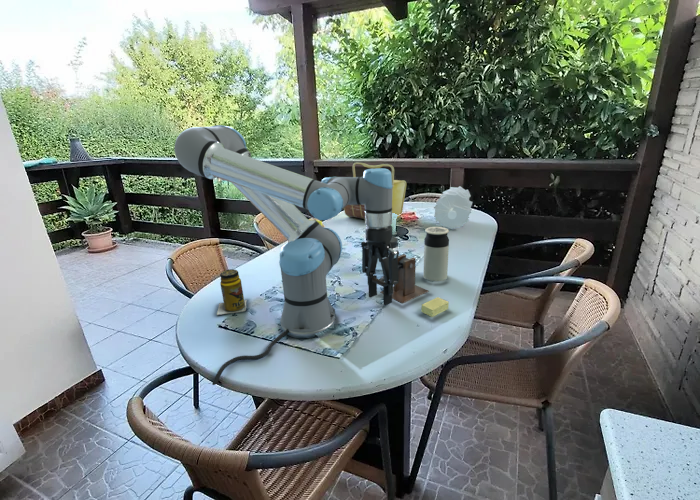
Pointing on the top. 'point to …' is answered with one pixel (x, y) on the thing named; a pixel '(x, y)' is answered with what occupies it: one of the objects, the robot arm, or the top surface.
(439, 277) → the travel mug
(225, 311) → the condiment
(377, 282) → the lever
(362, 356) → the top surface
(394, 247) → the jar
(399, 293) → the wooden lever stand
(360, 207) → the picnic basket
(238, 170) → the robot arm
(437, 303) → the butter
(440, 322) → the top surface
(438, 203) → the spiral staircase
